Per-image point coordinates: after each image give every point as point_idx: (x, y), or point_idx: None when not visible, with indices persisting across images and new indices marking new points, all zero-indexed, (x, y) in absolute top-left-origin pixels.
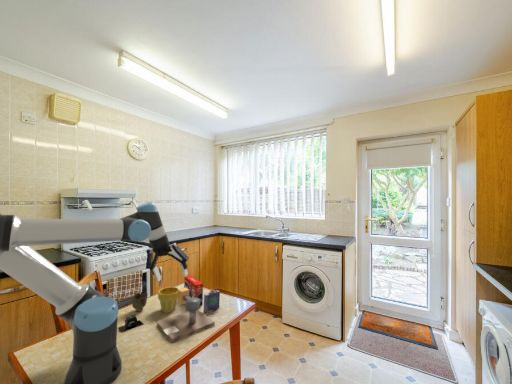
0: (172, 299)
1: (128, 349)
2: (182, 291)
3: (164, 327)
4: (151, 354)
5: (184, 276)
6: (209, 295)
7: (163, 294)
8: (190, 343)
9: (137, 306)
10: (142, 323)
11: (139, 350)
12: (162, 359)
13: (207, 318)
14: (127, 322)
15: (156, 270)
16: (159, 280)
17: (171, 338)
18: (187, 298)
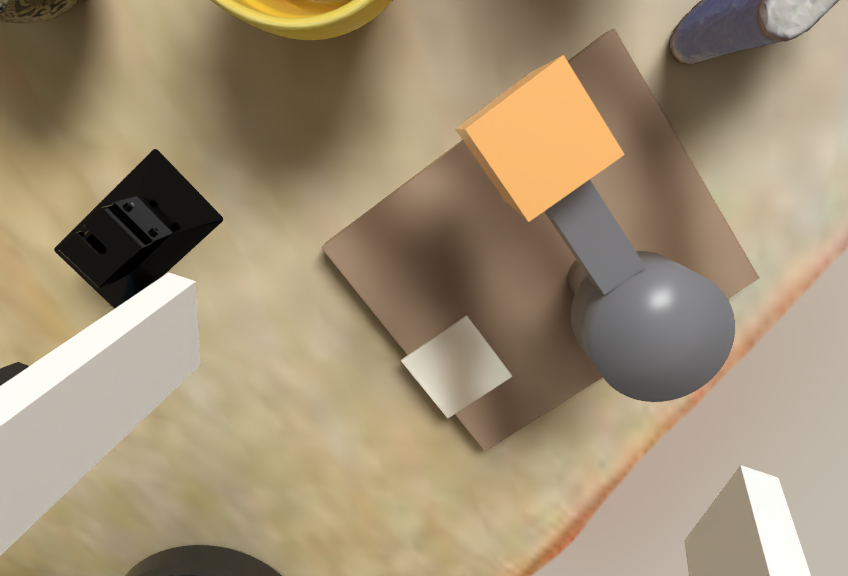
0: (374, 17)
1: (259, 473)
2: (539, 208)
3: (400, 325)
4: (398, 517)
5: (690, 553)
6: (821, 14)
7: (257, 17)
8: (588, 450)
9: (33, 21)
10: (205, 206)
11: (323, 485)
12: (464, 553)
13: (707, 223)
14: (108, 283)
15: (18, 481)
16: (195, 345)
17: (478, 442)
18: (594, 268)
